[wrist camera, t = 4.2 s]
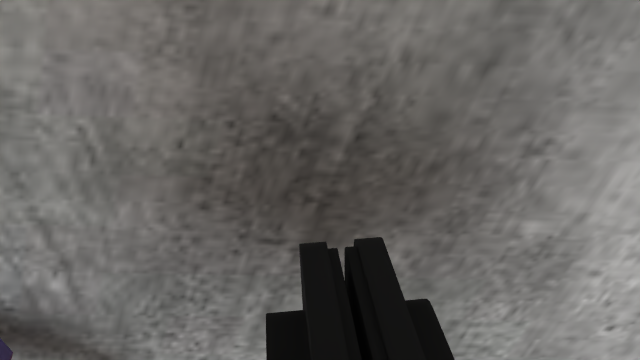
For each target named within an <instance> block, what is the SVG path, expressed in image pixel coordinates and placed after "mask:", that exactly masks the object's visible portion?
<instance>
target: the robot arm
mask: <svg viewBox="0 0 640 360" xmlns="http://www.w3.org/2000/svg"><path fill="white" fill-rule="evenodd" d="M299 249H300V266H301V284H302V301H303V310H299V311H288V312H278V313H267V314H266V353H267V360H454V357H453V355H452V353H451V350H450V348H449V345H448V343H447V341H446V338H445V336H444V333H443V331H442V329H441V326H440V324H439V321H438V319H437V317H436V314H435V312H434V309H433V307H432V305H431V303H430V301H429V300H427V299H417V300H406V301H405V299H404V297H403V294H402V291H401V288H400V285H399V283H398V280H397V277H396V274H395V271H394V269H393V266H392V263H391V260H390V257H389V255H388V252H387V249H386V246H385V243H384V241H383V239H382V238H381V237H377V238H365V239H355V240H354V247H345V281H344V276H343V272H342V267H341V262H340V258H339V253H338V249H337V248H331V249H328V248H327V243H326V242H317V243H304V244H299Z"/></svg>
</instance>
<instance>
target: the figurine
mask: <svg viewBox="0 0 640 360" xmlns="http://www.w3.org/2000/svg"><path fill="white" fill-rule="evenodd" d="M12 355H13V352H12V351H11V349H10V348H9V347H8V346H7V345H6V344H5V343H4V342H3V341H2V340H1V338H0V360H11V357H12Z"/></svg>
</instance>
